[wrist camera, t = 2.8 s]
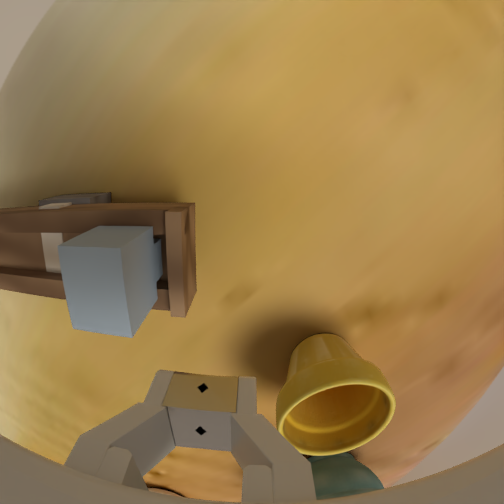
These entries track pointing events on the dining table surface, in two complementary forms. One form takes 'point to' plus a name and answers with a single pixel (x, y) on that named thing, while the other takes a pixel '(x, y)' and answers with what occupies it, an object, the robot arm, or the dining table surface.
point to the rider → (111, 278)
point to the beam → (82, 220)
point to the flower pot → (341, 476)
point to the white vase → (163, 492)
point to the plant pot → (332, 398)
